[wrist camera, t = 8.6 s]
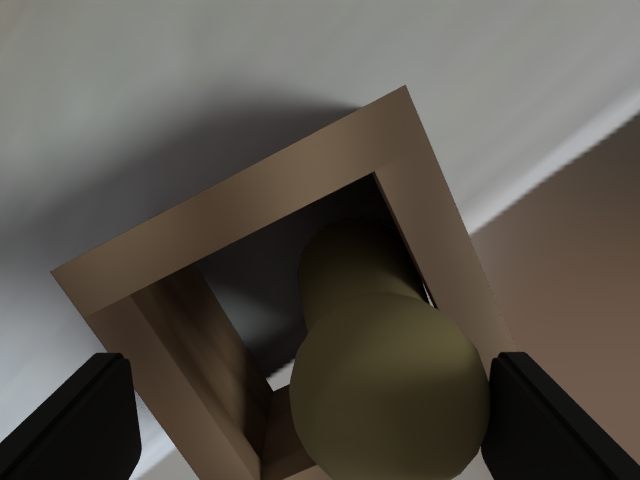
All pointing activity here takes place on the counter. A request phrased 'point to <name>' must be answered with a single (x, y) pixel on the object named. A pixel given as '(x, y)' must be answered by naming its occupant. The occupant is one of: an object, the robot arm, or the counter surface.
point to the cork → (381, 364)
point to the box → (211, 321)
